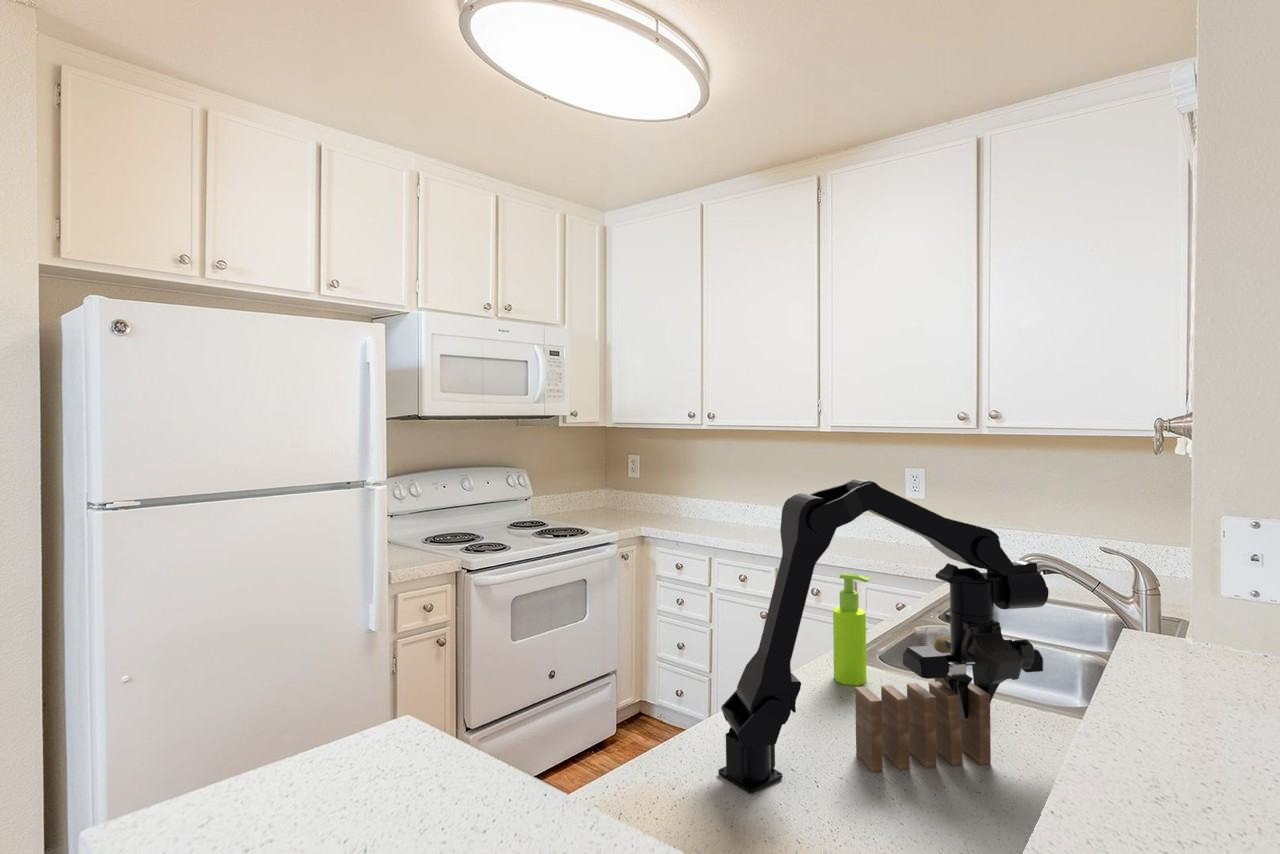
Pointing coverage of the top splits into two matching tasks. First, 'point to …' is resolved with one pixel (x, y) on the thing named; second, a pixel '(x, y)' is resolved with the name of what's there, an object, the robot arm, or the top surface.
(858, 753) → the tile
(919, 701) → the tile
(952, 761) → the tile
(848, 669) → the soap dispenser
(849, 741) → the top surface
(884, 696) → the tile
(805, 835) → the top surface
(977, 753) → the tile
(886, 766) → the top surface
